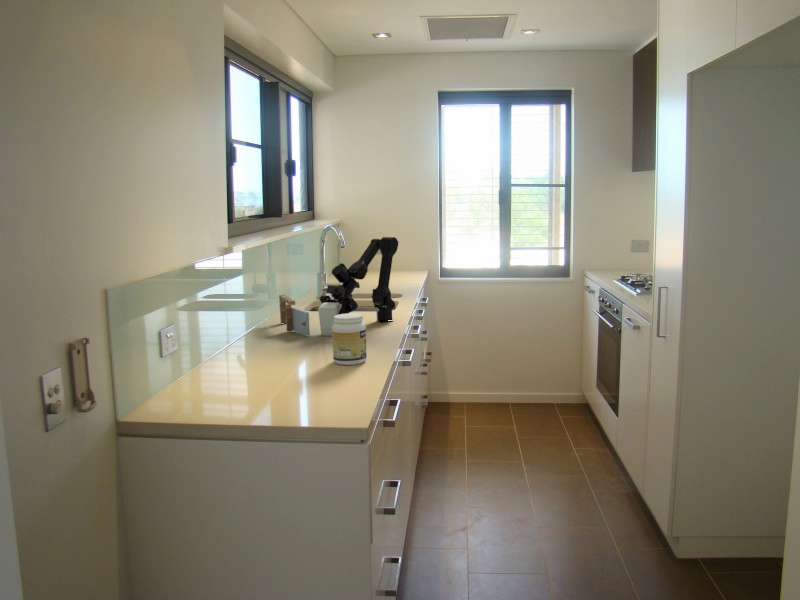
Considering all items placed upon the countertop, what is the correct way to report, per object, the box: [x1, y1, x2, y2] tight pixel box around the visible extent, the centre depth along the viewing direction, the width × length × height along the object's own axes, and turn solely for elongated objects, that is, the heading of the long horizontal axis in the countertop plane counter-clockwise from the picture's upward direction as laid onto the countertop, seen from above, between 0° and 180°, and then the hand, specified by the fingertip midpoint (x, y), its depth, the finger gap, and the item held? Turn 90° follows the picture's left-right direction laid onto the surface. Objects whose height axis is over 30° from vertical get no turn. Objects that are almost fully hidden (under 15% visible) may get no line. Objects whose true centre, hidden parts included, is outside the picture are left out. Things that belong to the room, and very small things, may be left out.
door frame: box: [278, 294, 296, 332], centre depth 318 cm, size 22×4×14 cm, turn 22°
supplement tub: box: [331, 312, 368, 366], centre depth 251 cm, size 12×12×17 cm
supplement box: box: [317, 302, 341, 337], centre depth 299 cm, size 7×7×13 cm
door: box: [291, 307, 311, 337], centre depth 303 cm, size 16×2×10 cm, turn 32°
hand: (329, 318), depth 299 cm, fingers closed on supplement box, 9 cm apart
